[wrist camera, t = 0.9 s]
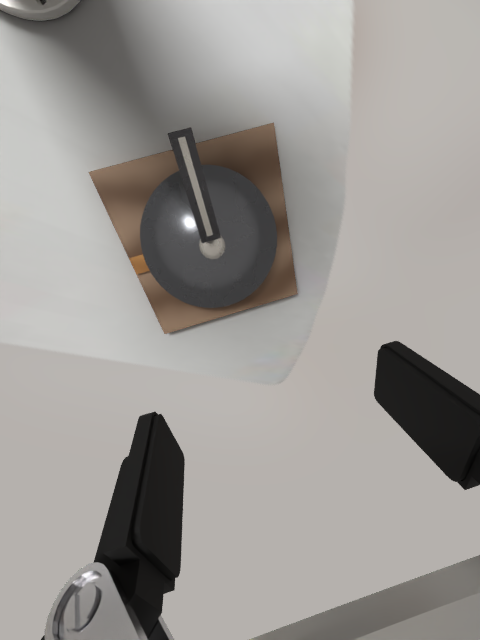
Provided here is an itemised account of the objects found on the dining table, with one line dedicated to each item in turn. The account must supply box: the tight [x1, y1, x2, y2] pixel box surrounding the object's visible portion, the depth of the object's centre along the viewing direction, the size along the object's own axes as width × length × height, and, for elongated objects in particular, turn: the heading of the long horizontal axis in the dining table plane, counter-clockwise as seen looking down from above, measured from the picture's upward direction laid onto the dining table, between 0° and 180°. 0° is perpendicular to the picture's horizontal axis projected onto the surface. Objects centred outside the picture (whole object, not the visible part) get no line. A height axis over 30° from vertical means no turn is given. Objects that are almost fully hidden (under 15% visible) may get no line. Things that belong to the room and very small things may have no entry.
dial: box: [140, 128, 277, 308], centre depth 25 cm, size 18×16×5 cm
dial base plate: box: [89, 123, 298, 334], centre depth 29 cm, size 20×20×1 cm
